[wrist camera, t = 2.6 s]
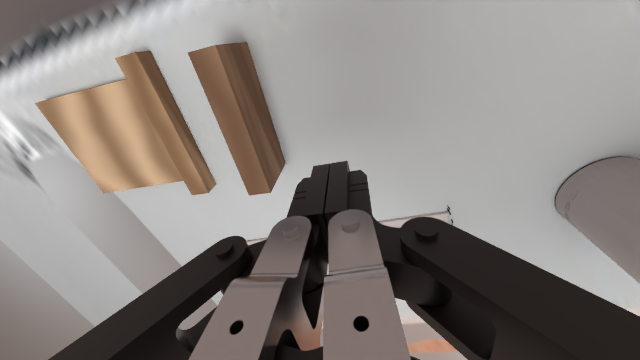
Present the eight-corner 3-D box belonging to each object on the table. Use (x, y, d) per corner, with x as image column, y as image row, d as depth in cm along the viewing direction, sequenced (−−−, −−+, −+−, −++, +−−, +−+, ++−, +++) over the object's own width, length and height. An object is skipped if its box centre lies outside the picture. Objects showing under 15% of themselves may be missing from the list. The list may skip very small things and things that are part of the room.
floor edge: (150, 50, 27) (135, 52, 25) (216, 184, 35) (208, 192, 33) (35, 83, 30) (14, 86, 28) (120, 198, 38) (108, 207, 36)
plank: (247, 42, 26) (215, 45, 20) (285, 162, 32) (270, 192, 26) (225, 47, 26) (187, 52, 20) (267, 165, 33) (249, 195, 27)
